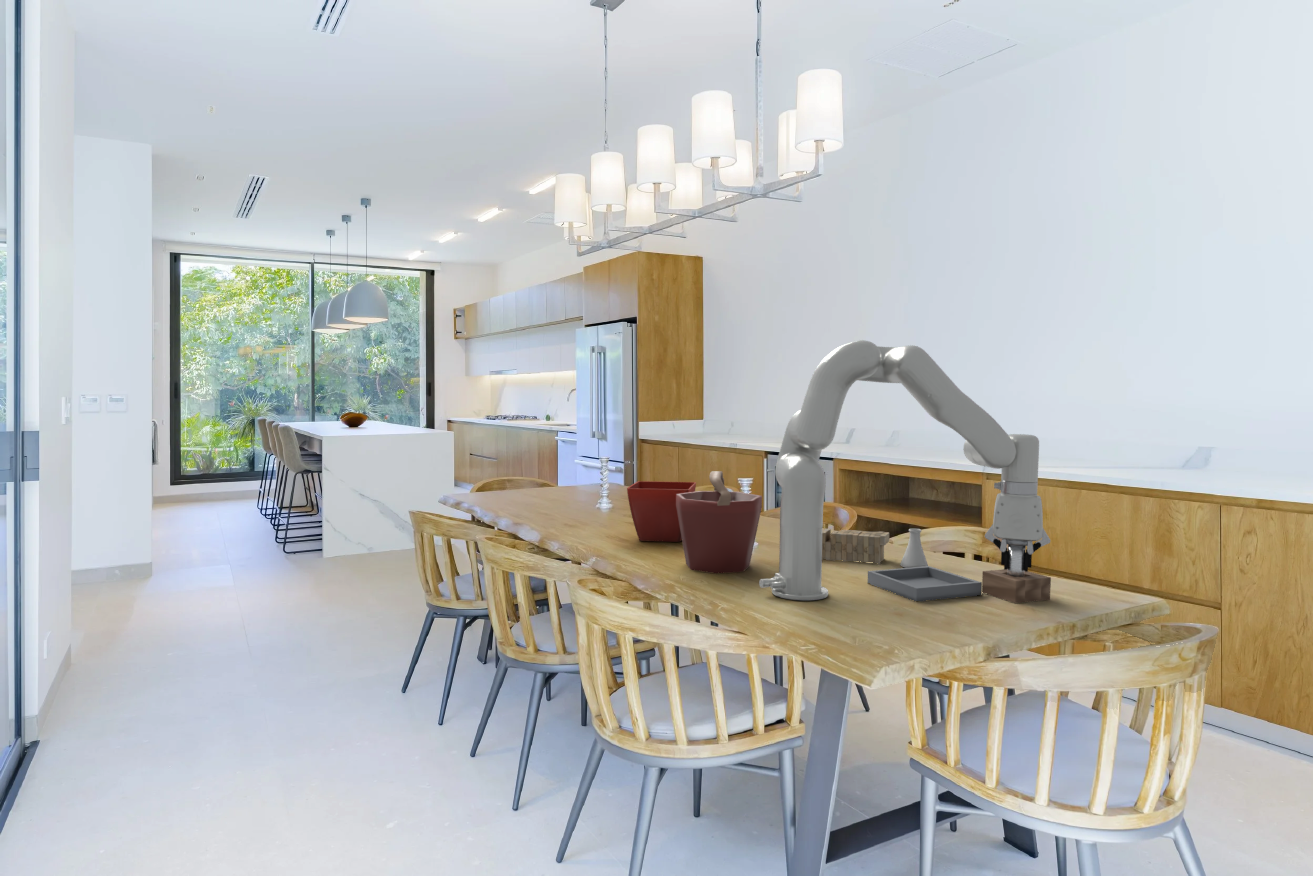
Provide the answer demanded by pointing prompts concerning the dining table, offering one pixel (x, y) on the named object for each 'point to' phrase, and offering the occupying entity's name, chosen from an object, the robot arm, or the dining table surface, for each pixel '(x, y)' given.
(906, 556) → the flask
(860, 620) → the dining table surface
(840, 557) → the block tower
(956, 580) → the tray
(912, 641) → the dining table surface
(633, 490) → the plant pot
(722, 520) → the bucket
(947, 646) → the dining table surface
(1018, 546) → the steel pin
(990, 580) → the socket block
